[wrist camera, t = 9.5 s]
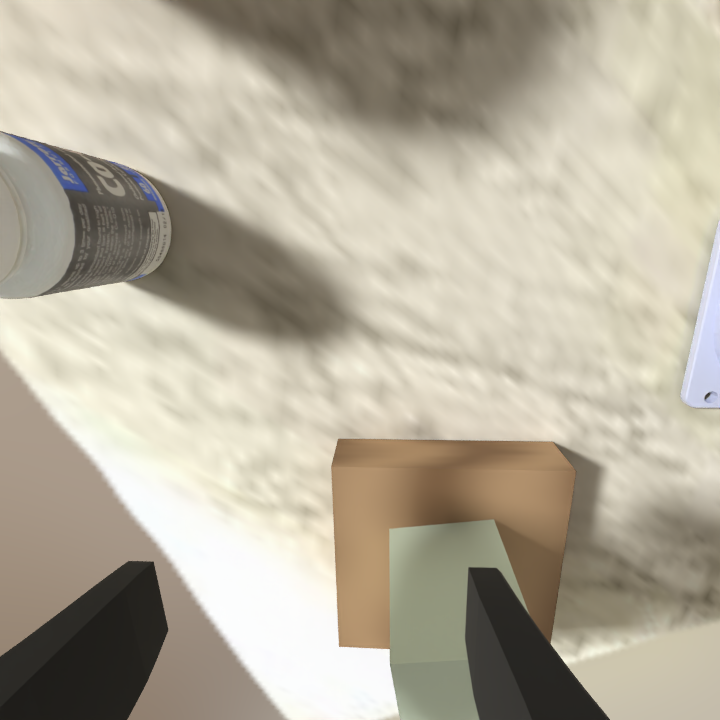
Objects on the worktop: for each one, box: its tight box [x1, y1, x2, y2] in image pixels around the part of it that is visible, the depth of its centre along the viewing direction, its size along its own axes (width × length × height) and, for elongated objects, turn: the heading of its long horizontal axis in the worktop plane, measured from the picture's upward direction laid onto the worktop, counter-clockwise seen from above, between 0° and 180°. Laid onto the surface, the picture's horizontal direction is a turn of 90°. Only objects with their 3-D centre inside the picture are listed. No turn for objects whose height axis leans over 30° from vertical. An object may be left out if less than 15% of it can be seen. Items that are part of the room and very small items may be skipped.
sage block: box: [389, 519, 529, 720], centre depth 16 cm, size 4×4×6 cm
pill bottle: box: [0, 131, 171, 299], centre depth 14 cm, size 5×5×8 cm
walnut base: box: [331, 439, 576, 649], centre depth 20 cm, size 10×10×2 cm
